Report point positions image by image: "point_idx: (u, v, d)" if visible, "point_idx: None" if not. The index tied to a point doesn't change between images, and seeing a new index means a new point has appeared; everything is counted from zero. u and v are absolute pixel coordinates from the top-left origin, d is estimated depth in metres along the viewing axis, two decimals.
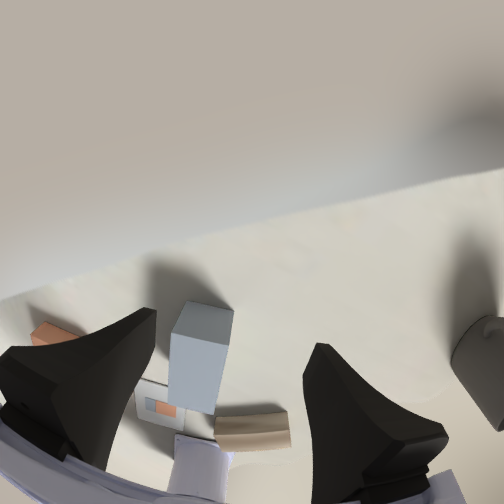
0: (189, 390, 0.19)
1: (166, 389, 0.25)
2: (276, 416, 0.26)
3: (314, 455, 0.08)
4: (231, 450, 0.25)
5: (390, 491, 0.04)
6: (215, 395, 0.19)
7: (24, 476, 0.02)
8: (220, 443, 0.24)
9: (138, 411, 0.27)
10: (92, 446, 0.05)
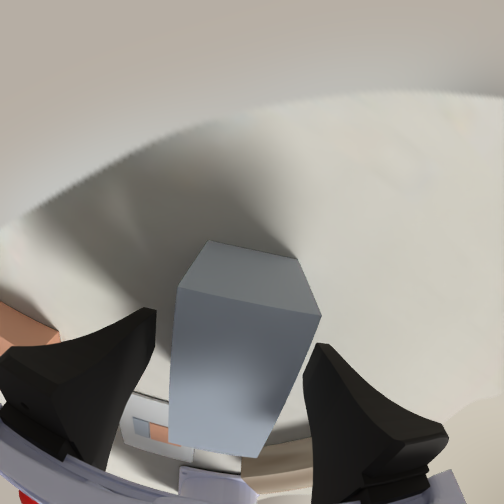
0: (215, 421, 0.09)
1: (166, 407, 0.15)
2: None
3: (314, 455, 0.08)
4: (271, 491, 0.15)
5: (390, 491, 0.04)
6: (268, 427, 0.09)
7: (24, 476, 0.02)
8: (254, 486, 0.14)
9: (124, 435, 0.16)
10: (92, 445, 0.05)
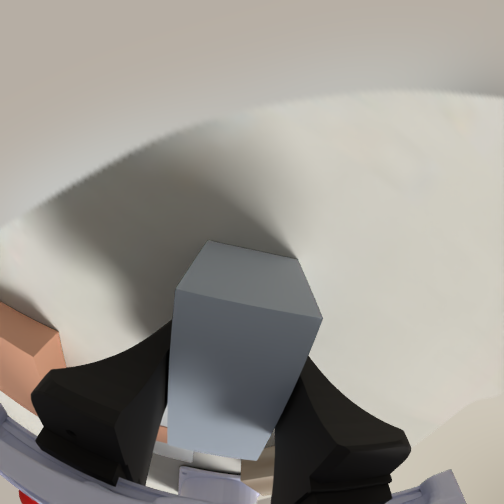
0: (214, 424, 0.09)
1: None
2: None
3: (275, 454, 0.08)
4: None
5: (343, 500, 0.04)
6: (269, 430, 0.09)
7: (24, 476, 0.02)
8: (256, 488, 0.14)
9: None
10: (139, 464, 0.05)
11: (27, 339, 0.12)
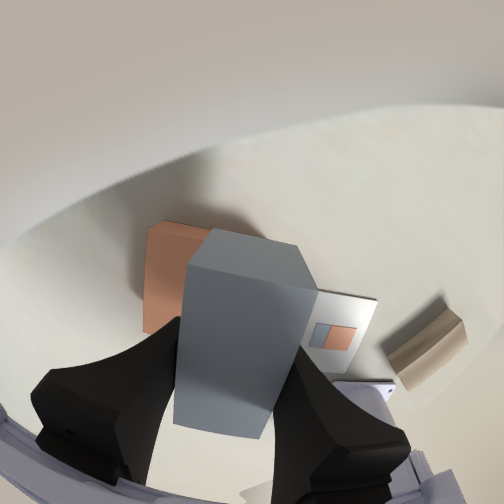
0: (219, 399, 0.10)
1: (354, 301, 0.21)
2: (441, 317, 0.21)
3: (275, 454, 0.08)
4: (416, 383, 0.21)
5: (343, 500, 0.04)
6: (270, 405, 0.10)
7: (24, 476, 0.02)
8: (405, 381, 0.21)
9: None
10: (139, 464, 0.05)
11: None
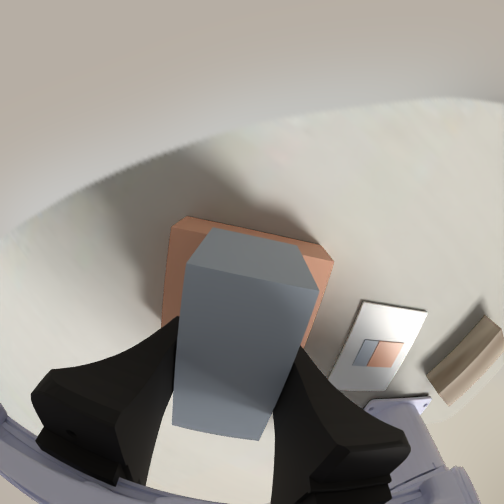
0: (218, 400, 0.09)
1: (405, 313, 0.17)
2: (479, 327, 0.17)
3: (275, 454, 0.08)
4: (457, 397, 0.17)
5: (342, 500, 0.04)
6: (270, 406, 0.09)
7: (24, 476, 0.02)
8: (446, 398, 0.17)
9: (334, 374, 0.18)
10: (139, 464, 0.05)
11: (303, 249, 0.14)
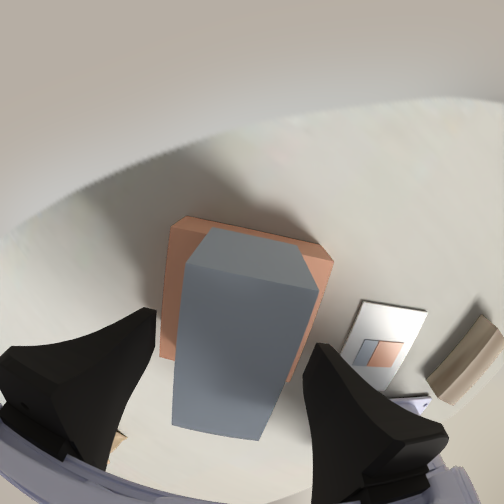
0: (218, 400, 0.09)
1: (405, 313, 0.17)
2: (476, 327, 0.17)
3: (314, 455, 0.08)
4: (460, 396, 0.17)
5: (390, 491, 0.04)
6: (270, 407, 0.09)
7: (24, 476, 0.02)
8: (448, 399, 0.17)
9: None
10: (92, 445, 0.05)
11: (303, 249, 0.14)
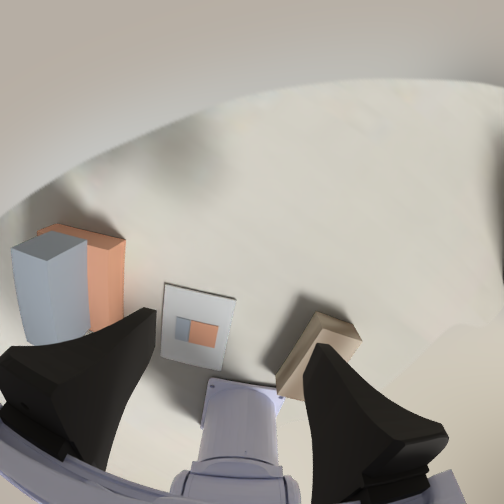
0: (35, 323, 0.14)
1: (208, 298, 0.22)
2: (310, 325, 0.22)
3: (314, 455, 0.08)
4: None
5: (390, 491, 0.04)
6: (54, 330, 0.15)
7: (24, 476, 0.02)
8: (297, 397, 0.22)
9: (163, 344, 0.24)
10: (92, 446, 0.05)
11: (100, 242, 0.19)
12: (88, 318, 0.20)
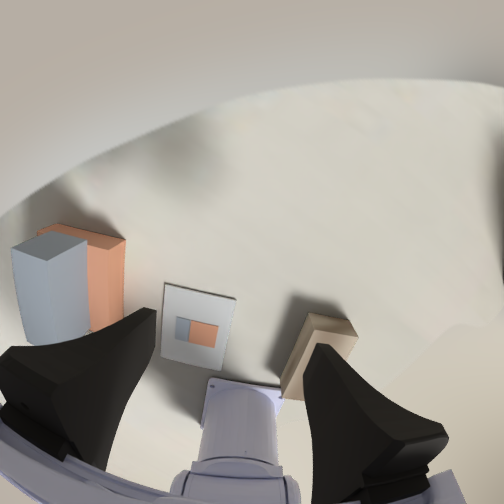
0: (35, 323, 0.14)
1: (208, 298, 0.22)
2: (304, 327, 0.22)
3: (314, 455, 0.08)
4: None
5: (390, 491, 0.04)
6: (54, 330, 0.15)
7: (24, 476, 0.02)
8: (302, 398, 0.22)
9: (163, 344, 0.24)
10: (92, 446, 0.05)
11: (100, 242, 0.19)
12: (88, 318, 0.20)
